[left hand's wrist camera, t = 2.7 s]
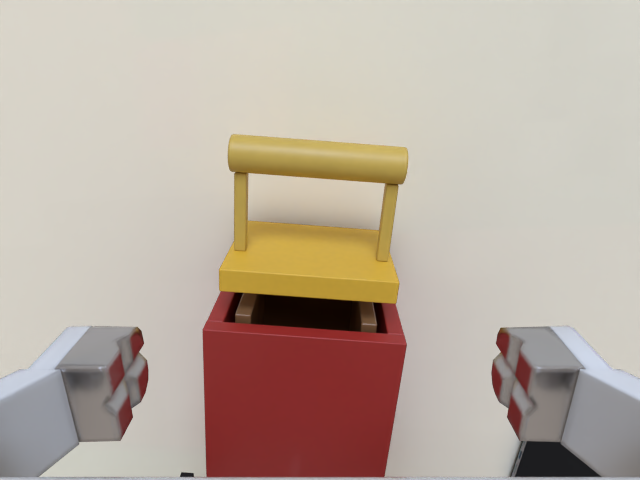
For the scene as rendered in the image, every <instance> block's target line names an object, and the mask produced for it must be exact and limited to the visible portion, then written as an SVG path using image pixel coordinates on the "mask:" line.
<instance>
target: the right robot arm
mask: <svg viewBox="0 0 640 480" xmlns="http://www.w3.org/2000/svg"><path fill="white" fill-rule="evenodd" d="M180 477H194V473H183V472H181V475H180Z"/></svg>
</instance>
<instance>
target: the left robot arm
mask: <svg viewBox="0 0 640 480" xmlns="http://www.w3.org/2000/svg"><path fill="white" fill-rule="evenodd" d="M143 344H144V341H143V336H142V332H141V330H140V329H139V328H138V327H112V326H94V327H93V326H71V327H67V328H66V329H65V330H64V331H63V332H62V333H61V334H60V335H59V336H58V338H57V339H56V340H55V341H54V342H53V343H52V344H51V345H50V346H49V347H48V348H47V349H46V350H45V351H44V352H43V353H42V354H41V355H40V356H39V358H38V359H37V360H36V361H35V362H34V363H33V364H32V365H31V366H30V367H29V368H28V369H20V370H18V371H15V372H13V373H11V374H9V375H7V376H5V377H3V378H0V480H640V378H637V377H635V376H633V375H631V374H629V373H627V372H625V371H622V370H620V369H612V368H611V367H610V366H609V365H608V364H607V363H606V362H605V361H604V360H603V359H602V358H601V356H600V355H599V354H598V353H597V352H596V351H595V350H594V349H593V348H592V347H591V346H590V345H589V344H588V343H587V342H586V341H585V340H584V338H583V337H582V336H581V335H580V334H579V333H578V332H577V331H576V330H575V329H574V328H572V327H570V326H546V327H512V328H500V330H499V332H498V335H497V341H496V344H497V346H498V348H499V349H500V351H501V353H500V354H499V355H498V356H497V357H496V358H495V359H494V360H493V365H492V384H493V388H494V392H495V394H496V396H497V399H498V401H499V402H500V403H501V404H503V405H504V406H506V407H507V408H509V410H508V415H507V418H508V420H509V422H510V424H511V425H512V427H513V429H514V431H515V433H516V435H517V437H518V439H519V441H545V442H561V444H562V445H563V446H564V447H565V448H567V449H568V450H569V451H570V452H571V453H573V454H574V455H575V456H576V457H578V458H579V459H580V460H581V461H583V462H584V463H585V464H586V465H588V466H589V467H590V468H591V469H593V470H594V471H595V472H596V473H597V474H599V475H600V476H601V477H39V476H40V475H41V474H43V473H44V472H45V471H46V470H48V469H49V468H50V467H51V466H53V465H54V464H55V463H56V462H58V461H59V460H60V459H61V458H63V457H64V456H65V455H66V454H67V453H69V452H70V451H71V450H72V449H74V448H75V447H76V446H77V445H79V442H95V441H121V439H122V437H123V435H124V433H125V431H126V429H127V427H128V425H129V424H130V422H131V420H132V418H133V415H132V410H131V408H133V407H134V406H136V405H137V404H139V403H140V402H141V400H142V398H143V396H144V394H145V392H146V387H147V383H148V364H147V360H146V359H145V358H144V357H143V356H142V355H141V354H140V353H139V351H140V349H141V348H142V346H143Z"/></svg>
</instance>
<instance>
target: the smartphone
mask: <svg viewBox="0 0 640 480" xmlns="http://www.w3.org/2000/svg"><path fill="white" fill-rule="evenodd" d="M511 477H601V476H600V475H599V474H597V473H596V472H595V471H594V470H593V469H591V468H590V467H589V466H588V465H586V464H585V463H584V462H583V461H581V460H580V459H579V458H578V457H576V456H575V455H574V454H573V453H571V452H570V451H569V450H568V449H567V448H565V447H564V446H563V445H562V444H561V442H545V441H523V443H522V446H521V449H520V452H519V455H518V458H517V460H516V463H515V466H514V469H513V472H512V475H511Z"/></svg>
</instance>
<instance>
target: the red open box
mask: <svg viewBox="0 0 640 480" xmlns="http://www.w3.org/2000/svg"><path fill="white" fill-rule="evenodd" d="M242 295H243V293H238V292H224V291H221V292H220V294H219V297H218V299H217V301H216V303H215V305H214V307H213V309H212V312H211V314H210V316H209V318H208V320H207V322H206V324H205V326H204V328H203V361H204V399H205V437H206V474H207V477H384V476H385V470H386V464H387V458H388V452H389V446H390V441H391V435H392V429H393V423H394V417H395V411H396V405H397V399H398V393H399V387H400V381H401V376H402V370H403V364H404V358H405V352H406V346H407V344H406V340H405V336H404V333H403V330H402V326H401V322H400V319H399V315H398V312H397V308H396V304H390V303H377V302H373V305H374V311H375V316H376V322H377V330H376V333H369V332H355V331H341V330H327V329H314V328H300V327H286V326H272V325H258V324H244V323H235V314H236V311H237V308H238V306H239V303H240V300H241V297H242Z"/></svg>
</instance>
